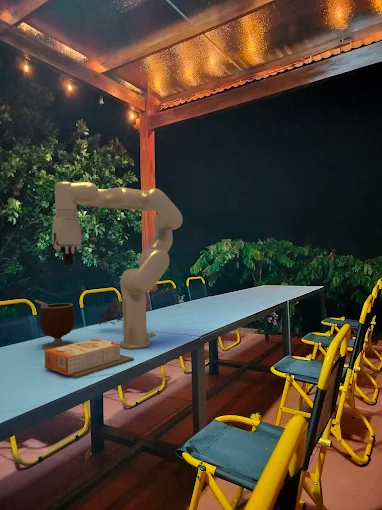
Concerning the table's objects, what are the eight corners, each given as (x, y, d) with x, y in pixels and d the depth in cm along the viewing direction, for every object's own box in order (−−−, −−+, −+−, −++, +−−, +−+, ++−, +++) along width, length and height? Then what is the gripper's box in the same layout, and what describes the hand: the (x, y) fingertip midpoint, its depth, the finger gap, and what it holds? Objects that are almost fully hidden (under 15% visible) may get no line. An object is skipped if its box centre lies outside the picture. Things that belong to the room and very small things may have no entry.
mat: (101, 352, 139) (101, 349, 139) (133, 360, 127) (133, 357, 127) (44, 367, 121) (44, 365, 121) (76, 378, 109) (76, 376, 109)
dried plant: (69, 297, 173) (137, 257, 154) (113, 295, 200) (176, 261, 181) (86, 359, 165) (160, 324, 146) (129, 348, 192) (197, 318, 173)
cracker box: (43, 349, 118) (96, 337, 134) (44, 367, 118) (97, 353, 134) (67, 356, 109) (121, 342, 125) (67, 376, 109) (121, 360, 125)
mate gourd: (74, 340, 159) (73, 295, 159) (76, 348, 146) (75, 299, 146) (36, 344, 153) (35, 298, 153) (35, 352, 140) (33, 301, 140)
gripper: (77, 217, 142) (79, 263, 142) (42, 215, 130) (44, 265, 130) (89, 215, 137) (91, 263, 138) (54, 213, 125) (56, 265, 126)
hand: (68, 264), depth 134 cm, fingers closed
